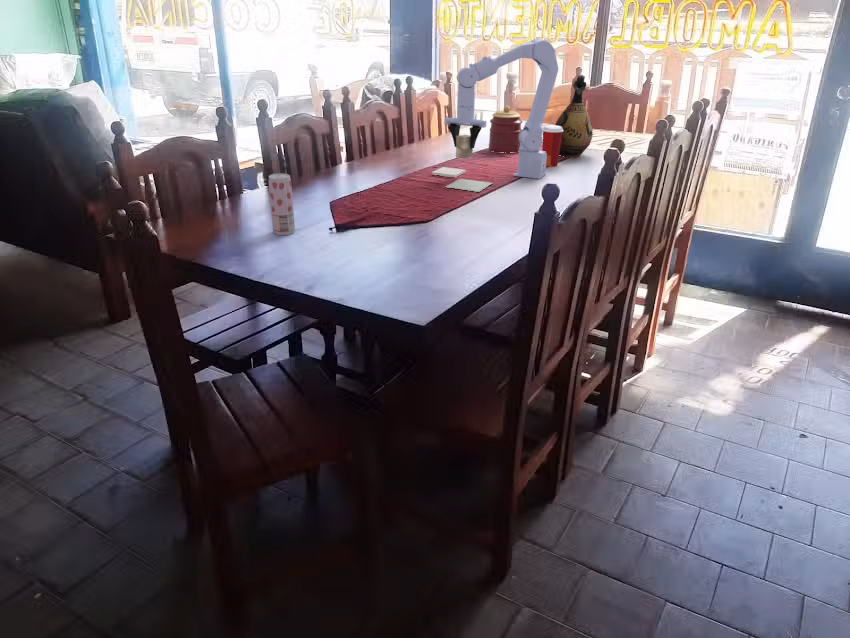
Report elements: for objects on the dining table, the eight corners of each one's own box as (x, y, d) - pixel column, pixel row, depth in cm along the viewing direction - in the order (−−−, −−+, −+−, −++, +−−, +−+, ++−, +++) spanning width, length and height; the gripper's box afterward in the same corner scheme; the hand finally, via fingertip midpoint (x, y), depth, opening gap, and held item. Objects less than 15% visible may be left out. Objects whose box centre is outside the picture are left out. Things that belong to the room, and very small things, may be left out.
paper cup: (559, 163, 251) (562, 125, 245) (560, 167, 244) (564, 128, 238) (538, 162, 252) (541, 124, 246) (539, 167, 245) (542, 128, 239)
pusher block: (472, 156, 229) (473, 136, 226) (464, 158, 226) (464, 137, 223) (464, 155, 232) (464, 134, 228) (455, 156, 229) (456, 135, 226)
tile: (465, 169, 236) (442, 167, 239) (455, 175, 228) (431, 172, 232) (465, 174, 236) (442, 171, 240) (455, 179, 229) (431, 176, 233)
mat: (492, 184, 222) (492, 183, 221) (478, 192, 212) (478, 191, 212) (460, 180, 227) (460, 178, 226) (444, 188, 217) (445, 186, 217)
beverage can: (285, 227, 179) (280, 172, 172) (299, 231, 176) (295, 175, 169) (268, 232, 175) (263, 176, 168) (282, 237, 172) (277, 179, 165)
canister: (509, 155, 263) (512, 109, 255) (482, 151, 270) (484, 106, 262) (526, 150, 272) (529, 105, 264) (499, 146, 279) (501, 102, 271)
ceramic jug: (590, 160, 255) (600, 78, 242) (549, 158, 258) (557, 77, 245) (589, 151, 270) (598, 73, 257) (551, 149, 273) (558, 72, 260)
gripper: (490, 106, 222) (488, 147, 228) (450, 103, 228) (449, 143, 234) (482, 108, 216) (481, 150, 222) (442, 105, 222) (441, 146, 228)
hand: (464, 147), depth 228 cm, fingers closed on pusher block, 5 cm apart
